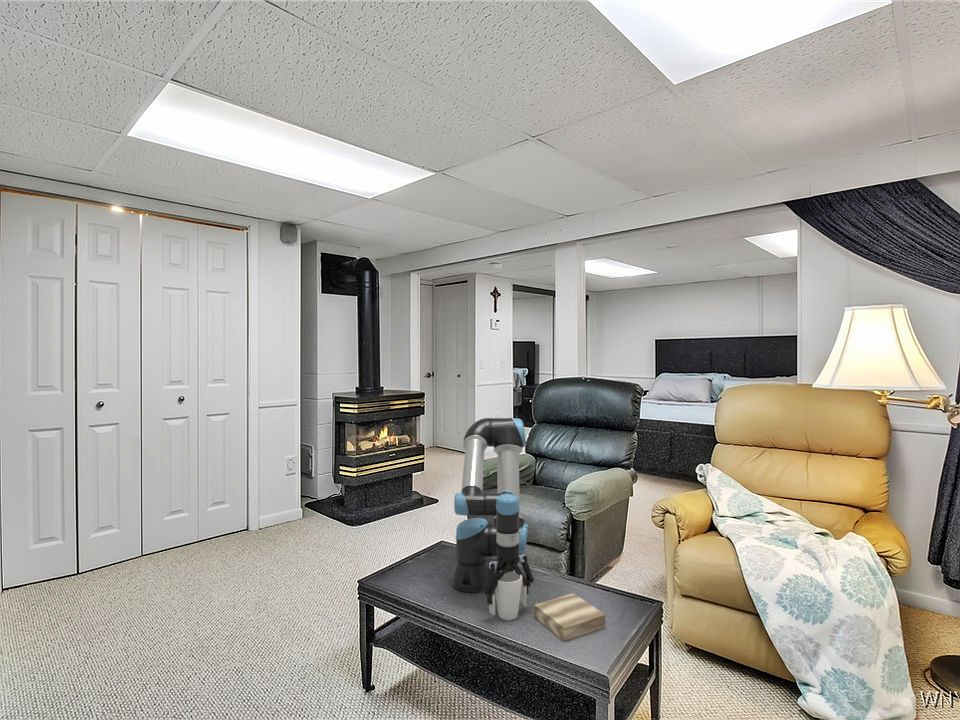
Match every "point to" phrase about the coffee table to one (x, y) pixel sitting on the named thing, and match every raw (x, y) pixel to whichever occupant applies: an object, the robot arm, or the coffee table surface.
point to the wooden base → (569, 616)
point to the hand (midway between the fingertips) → (508, 608)
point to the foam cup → (508, 595)
